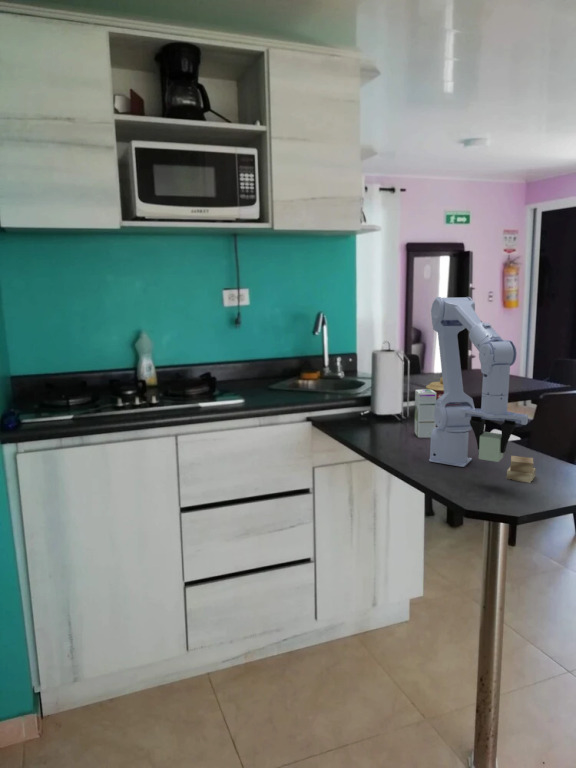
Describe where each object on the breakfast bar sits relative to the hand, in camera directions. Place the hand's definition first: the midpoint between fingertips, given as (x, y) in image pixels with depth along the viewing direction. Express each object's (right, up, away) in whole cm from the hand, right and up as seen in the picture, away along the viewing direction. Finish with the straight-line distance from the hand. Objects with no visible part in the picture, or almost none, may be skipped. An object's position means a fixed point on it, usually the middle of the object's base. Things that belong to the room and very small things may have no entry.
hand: (491, 450), depth 132 cm
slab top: (+10, -5, +7) cm, 13 cm away
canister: (+3, 0, +55) cm, 55 cm away
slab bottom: (+10, -8, +7) cm, 14 cm away
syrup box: (-4, -1, +47) cm, 47 cm away
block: (0, -2, 0) cm, 2 cm away
